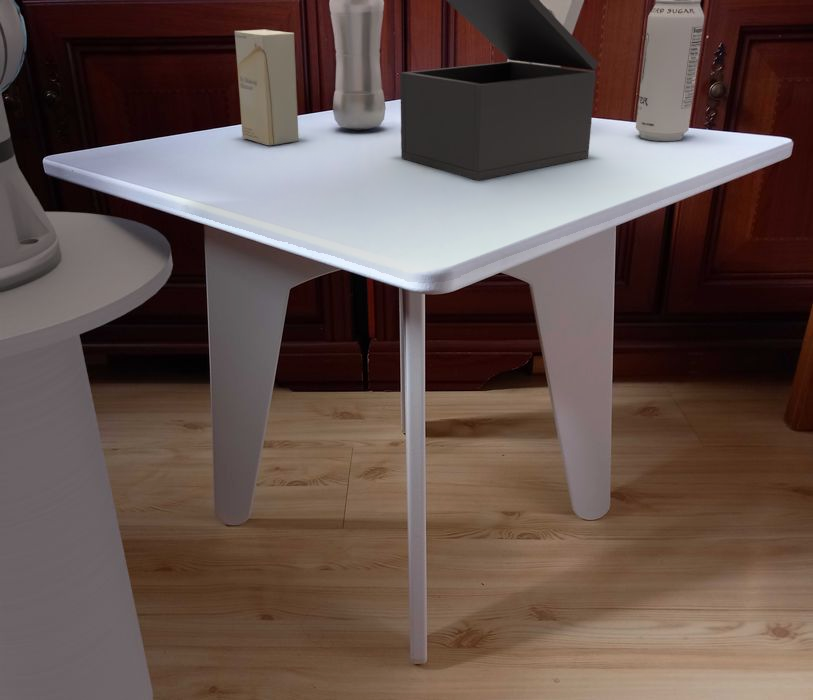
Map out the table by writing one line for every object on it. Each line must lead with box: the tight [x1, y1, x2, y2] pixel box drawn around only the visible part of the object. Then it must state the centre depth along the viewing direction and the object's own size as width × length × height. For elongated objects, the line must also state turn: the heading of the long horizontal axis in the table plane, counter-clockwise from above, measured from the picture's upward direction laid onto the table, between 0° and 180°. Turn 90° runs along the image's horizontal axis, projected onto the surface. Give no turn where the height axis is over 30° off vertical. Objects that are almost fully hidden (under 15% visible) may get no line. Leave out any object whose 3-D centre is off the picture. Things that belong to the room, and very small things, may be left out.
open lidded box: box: [399, 61, 597, 181], centre depth 84 cm, size 16×13×9 cm
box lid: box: [445, 0, 599, 71], centre depth 81 cm, size 16×13×1 cm
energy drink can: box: [635, 0, 705, 142], centre depth 92 cm, size 6×6×15 cm
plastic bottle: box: [328, 0, 387, 131], centre depth 98 cm, size 6×7×20 cm
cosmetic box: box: [234, 29, 299, 146], centre depth 94 cm, size 6×4×12 cm
